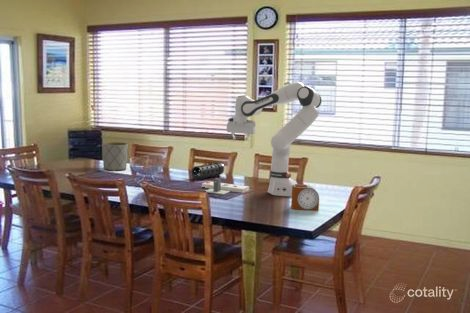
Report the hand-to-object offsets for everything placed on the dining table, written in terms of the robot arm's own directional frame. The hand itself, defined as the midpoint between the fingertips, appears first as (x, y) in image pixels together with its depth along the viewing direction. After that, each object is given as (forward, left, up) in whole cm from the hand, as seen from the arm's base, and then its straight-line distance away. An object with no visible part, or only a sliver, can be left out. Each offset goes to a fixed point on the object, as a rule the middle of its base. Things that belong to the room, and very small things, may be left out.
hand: (240, 139), depth 361 cm
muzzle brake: (+30, -12, -32) cm, 45 cm away
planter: (+105, 0, -31) cm, 109 cm away
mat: (+2, +29, -31) cm, 42 cm away
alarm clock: (-60, +40, -31) cm, 79 cm away
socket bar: (+2, +17, -31) cm, 35 cm away
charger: (+2, +29, -31) cm, 42 cm away
